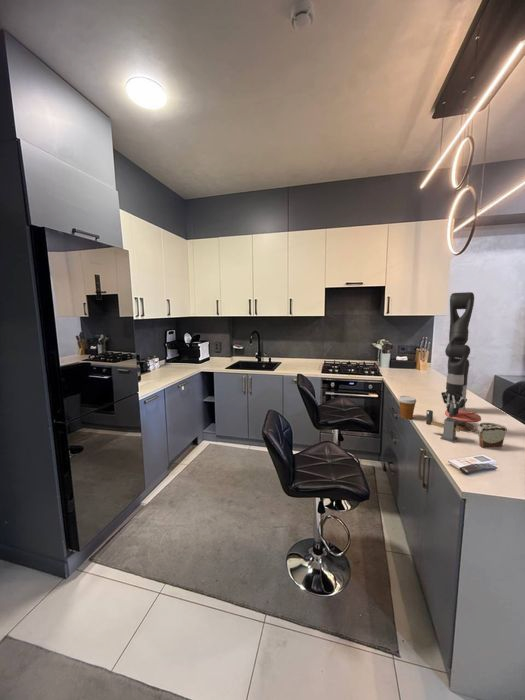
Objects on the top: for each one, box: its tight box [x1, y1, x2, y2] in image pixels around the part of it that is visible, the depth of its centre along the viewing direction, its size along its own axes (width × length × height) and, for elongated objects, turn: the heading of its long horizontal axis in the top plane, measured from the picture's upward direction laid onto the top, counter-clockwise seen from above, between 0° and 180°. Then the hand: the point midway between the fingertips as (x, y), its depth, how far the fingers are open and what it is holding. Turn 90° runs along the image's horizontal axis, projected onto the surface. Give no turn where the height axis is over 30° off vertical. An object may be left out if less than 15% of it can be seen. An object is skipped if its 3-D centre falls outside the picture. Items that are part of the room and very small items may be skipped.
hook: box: [425, 409, 461, 433], centre depth 144 cm, size 15×3×7 cm, turn 42°
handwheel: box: [444, 403, 482, 425], centre depth 155 cm, size 16×16×12 cm
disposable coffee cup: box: [398, 395, 417, 420], centre depth 171 cm, size 10×10×12 cm
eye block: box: [440, 416, 459, 443], centre depth 142 cm, size 6×6×10 cm
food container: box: [477, 422, 508, 449], centre depth 136 cm, size 12×6×10 cm, turn 92°
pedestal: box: [456, 420, 475, 432], centre depth 156 cm, size 11×11×2 cm
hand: (452, 413), depth 154 cm, fingers closed on handwheel, 3 cm apart
